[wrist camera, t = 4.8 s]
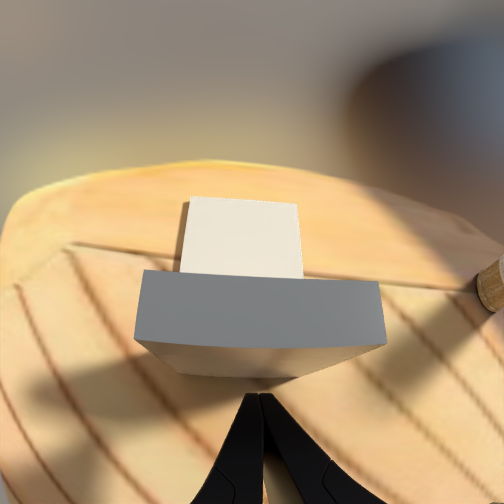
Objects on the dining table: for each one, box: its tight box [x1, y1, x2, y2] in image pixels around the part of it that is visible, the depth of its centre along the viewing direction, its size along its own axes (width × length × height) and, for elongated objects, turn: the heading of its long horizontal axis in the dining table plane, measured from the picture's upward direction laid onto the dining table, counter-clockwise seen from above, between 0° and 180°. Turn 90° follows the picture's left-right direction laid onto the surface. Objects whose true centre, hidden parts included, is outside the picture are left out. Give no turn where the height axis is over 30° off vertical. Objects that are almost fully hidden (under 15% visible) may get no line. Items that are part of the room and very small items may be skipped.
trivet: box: [180, 196, 304, 279], centre depth 19 cm, size 10×8×1 cm
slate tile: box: [134, 270, 387, 378], centre depth 12 cm, size 2×7×10 cm, turn 90°
